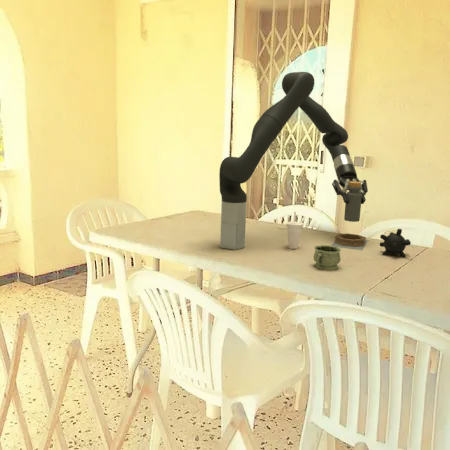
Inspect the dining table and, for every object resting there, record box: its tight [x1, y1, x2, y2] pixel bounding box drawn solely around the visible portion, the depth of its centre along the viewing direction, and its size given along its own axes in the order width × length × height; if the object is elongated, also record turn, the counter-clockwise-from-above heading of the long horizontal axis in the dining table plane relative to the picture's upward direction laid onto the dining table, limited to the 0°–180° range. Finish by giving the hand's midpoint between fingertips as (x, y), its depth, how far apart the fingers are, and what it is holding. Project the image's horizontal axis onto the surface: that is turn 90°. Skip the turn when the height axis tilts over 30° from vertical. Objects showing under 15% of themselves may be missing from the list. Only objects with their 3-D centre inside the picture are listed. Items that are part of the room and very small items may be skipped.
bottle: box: [343, 181, 362, 223], centre depth 183 cm, size 6×6×15 cm
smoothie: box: [285, 211, 304, 251], centre depth 176 cm, size 6×6×14 cm
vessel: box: [313, 244, 342, 271], centre depth 155 cm, size 12×9×6 cm
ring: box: [334, 233, 367, 247], centre depth 186 cm, size 11×11×2 cm
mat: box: [330, 239, 369, 251], centre depth 187 cm, size 18×12×1 cm, turn 156°
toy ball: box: [379, 228, 412, 259], centre depth 171 cm, size 11×11×12 cm
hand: (355, 202), depth 182 cm, fingers closed on bottle, 6 cm apart
